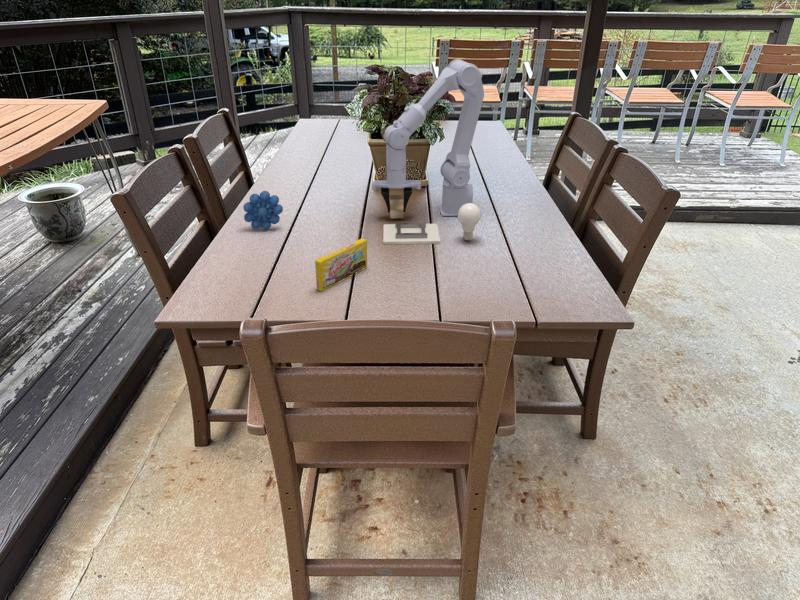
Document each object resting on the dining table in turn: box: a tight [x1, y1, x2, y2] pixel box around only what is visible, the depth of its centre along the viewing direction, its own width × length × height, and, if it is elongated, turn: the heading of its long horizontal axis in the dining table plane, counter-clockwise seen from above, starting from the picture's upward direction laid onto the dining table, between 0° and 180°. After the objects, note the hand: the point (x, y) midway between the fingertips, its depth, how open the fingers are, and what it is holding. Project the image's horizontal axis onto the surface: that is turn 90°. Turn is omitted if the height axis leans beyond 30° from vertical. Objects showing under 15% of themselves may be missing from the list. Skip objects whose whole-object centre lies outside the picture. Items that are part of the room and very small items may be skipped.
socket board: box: [382, 222, 441, 245], centre depth 158 cm, size 16×12×2 cm
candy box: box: [314, 237, 368, 292], centre depth 135 cm, size 16×2×8 cm, turn 139°
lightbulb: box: [457, 202, 482, 242], centre depth 152 cm, size 6×6×11 cm
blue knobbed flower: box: [243, 190, 284, 231], centre depth 160 cm, size 12×7×12 cm, turn 91°
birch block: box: [389, 194, 404, 219], centre depth 166 cm, size 4×4×6 cm
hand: (396, 211), depth 167 cm, fingers closed on birch block, 4 cm apart
